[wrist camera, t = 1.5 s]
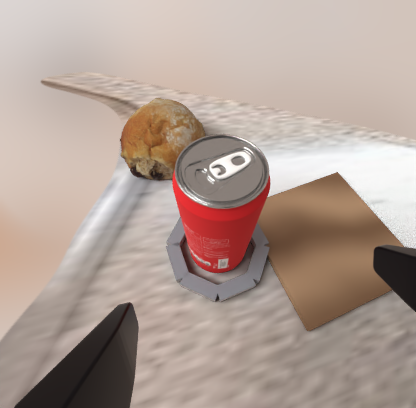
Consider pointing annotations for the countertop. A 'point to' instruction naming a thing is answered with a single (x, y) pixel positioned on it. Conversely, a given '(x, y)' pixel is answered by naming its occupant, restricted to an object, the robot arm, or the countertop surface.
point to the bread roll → (158, 138)
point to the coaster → (324, 248)
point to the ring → (207, 287)
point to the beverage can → (220, 198)
